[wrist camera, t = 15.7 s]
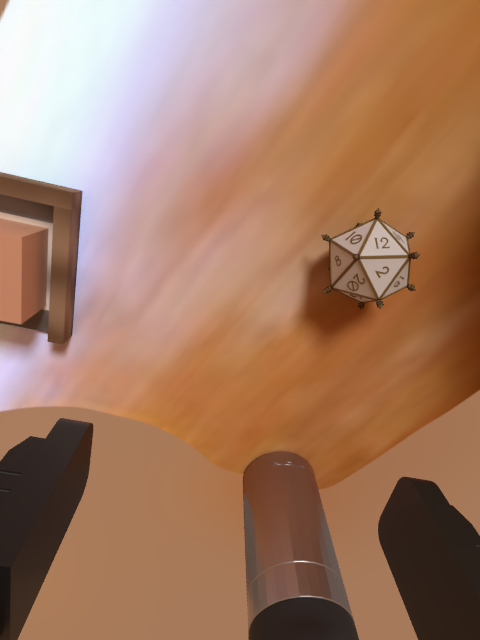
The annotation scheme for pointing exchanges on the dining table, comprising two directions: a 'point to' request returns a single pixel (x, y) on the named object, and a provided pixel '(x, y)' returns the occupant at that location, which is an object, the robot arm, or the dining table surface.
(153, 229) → the dining table surface
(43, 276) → the block
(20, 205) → the tray
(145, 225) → the dining table surface
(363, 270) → the game die
